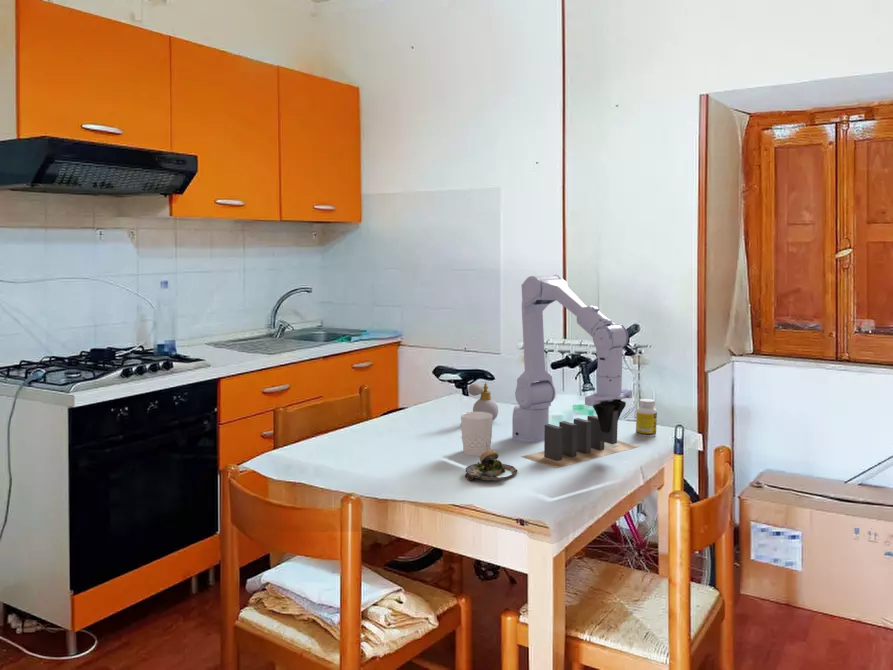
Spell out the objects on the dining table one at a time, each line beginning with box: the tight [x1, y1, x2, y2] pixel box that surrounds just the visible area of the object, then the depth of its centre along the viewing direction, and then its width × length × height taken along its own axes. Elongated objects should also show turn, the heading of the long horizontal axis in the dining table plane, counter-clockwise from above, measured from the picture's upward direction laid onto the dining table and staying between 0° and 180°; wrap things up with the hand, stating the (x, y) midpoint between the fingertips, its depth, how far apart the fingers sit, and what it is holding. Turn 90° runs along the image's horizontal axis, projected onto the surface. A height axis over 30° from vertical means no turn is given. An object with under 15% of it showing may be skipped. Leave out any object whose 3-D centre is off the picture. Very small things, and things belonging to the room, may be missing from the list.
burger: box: [464, 443, 518, 482], centre depth 176 cm, size 12×12×8 cm
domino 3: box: [573, 417, 591, 454], centre depth 194 cm, size 2×4×8 cm, turn 37°
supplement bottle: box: [635, 398, 658, 438], centre depth 211 cm, size 5×5×10 cm
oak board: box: [520, 439, 641, 469], centre depth 194 cm, size 30×12×1 cm, turn 127°
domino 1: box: [543, 423, 562, 461], centre depth 188 cm, size 2×4×8 cm, turn 37°
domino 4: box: [586, 414, 604, 450], centre depth 196 cm, size 2×4×8 cm, turn 37°
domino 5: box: [599, 410, 619, 444], centre depth 186 cm, size 2×4×8 cm, turn 37°
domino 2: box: [558, 420, 577, 457], centre depth 191 cm, size 2×4×8 cm, turn 36°
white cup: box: [460, 411, 493, 457], centre depth 194 cm, size 8×8×10 cm
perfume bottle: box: [467, 382, 499, 422], centre depth 226 cm, size 8×10×12 cm
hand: (608, 431), depth 186 cm, fingers closed on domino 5, 1 cm apart
